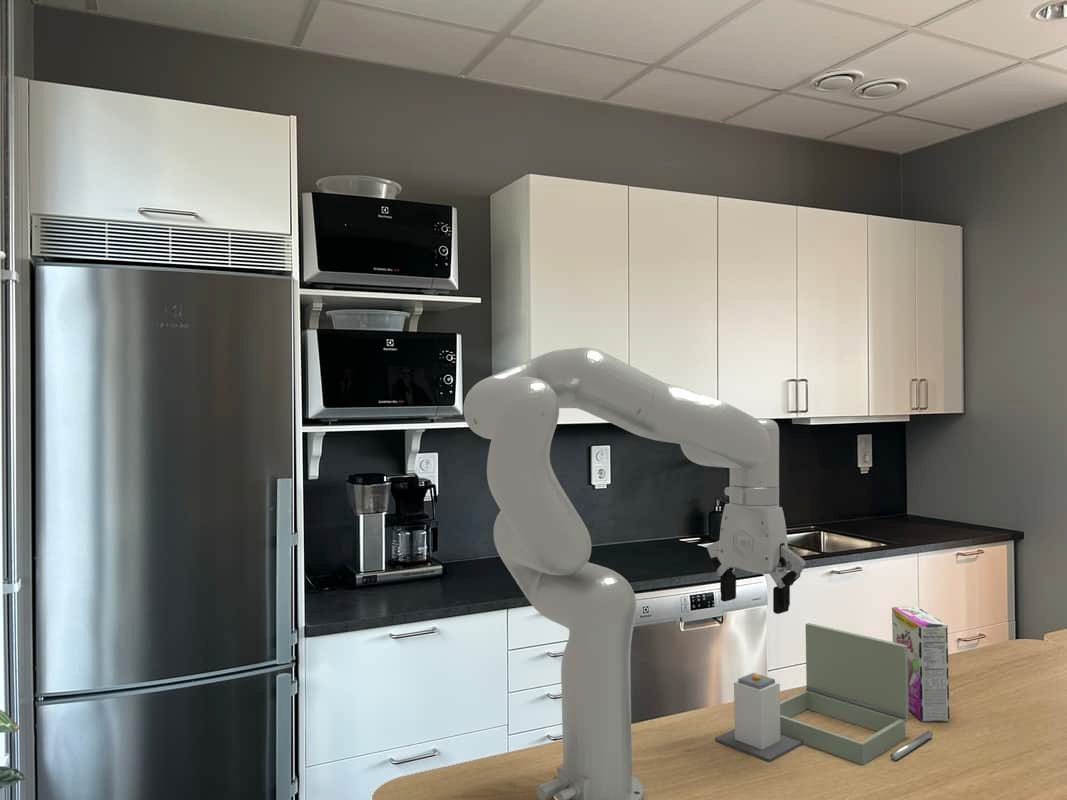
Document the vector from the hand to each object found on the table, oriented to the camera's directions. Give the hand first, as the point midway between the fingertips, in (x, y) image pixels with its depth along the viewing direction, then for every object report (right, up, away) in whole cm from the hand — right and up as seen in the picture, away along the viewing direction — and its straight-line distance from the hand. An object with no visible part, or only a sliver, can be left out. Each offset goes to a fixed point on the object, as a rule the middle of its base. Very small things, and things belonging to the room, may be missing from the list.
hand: (753, 605), depth 126 cm
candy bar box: (+32, -21, +12) cm, 40 cm away
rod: (+24, -21, -3) cm, 32 cm away
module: (+1, -21, 0) cm, 21 cm away
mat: (+1, -22, 0) cm, 22 cm away
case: (+14, -21, +3) cm, 25 cm away
